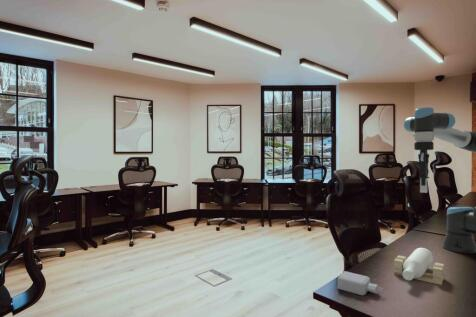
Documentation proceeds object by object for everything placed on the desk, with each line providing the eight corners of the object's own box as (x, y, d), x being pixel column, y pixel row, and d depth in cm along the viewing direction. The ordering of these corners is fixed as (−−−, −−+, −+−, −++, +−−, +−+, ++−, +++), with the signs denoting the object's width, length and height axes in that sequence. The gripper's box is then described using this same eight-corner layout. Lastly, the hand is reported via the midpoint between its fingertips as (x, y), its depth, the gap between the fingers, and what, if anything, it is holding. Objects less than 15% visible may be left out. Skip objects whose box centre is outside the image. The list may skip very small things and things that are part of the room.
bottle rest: (398, 268, 134) (398, 255, 134) (443, 278, 123) (443, 264, 123) (394, 273, 128) (394, 260, 128) (441, 285, 117) (441, 269, 117)
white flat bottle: (379, 301, 104) (337, 289, 113) (385, 292, 112) (345, 281, 121) (380, 288, 104) (337, 277, 113) (385, 279, 112) (345, 270, 121)
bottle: (437, 262, 133) (423, 283, 111) (419, 267, 138) (403, 288, 115) (426, 244, 136) (411, 262, 113) (409, 250, 140) (392, 268, 118)
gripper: (416, 142, 144) (416, 190, 145) (412, 141, 134) (412, 193, 135) (434, 141, 140) (434, 191, 140) (431, 140, 130) (431, 194, 130)
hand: (423, 192), depth 137 cm, fingers closed
